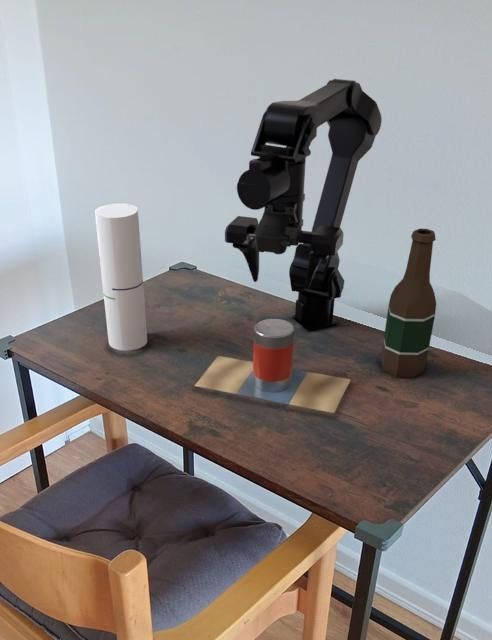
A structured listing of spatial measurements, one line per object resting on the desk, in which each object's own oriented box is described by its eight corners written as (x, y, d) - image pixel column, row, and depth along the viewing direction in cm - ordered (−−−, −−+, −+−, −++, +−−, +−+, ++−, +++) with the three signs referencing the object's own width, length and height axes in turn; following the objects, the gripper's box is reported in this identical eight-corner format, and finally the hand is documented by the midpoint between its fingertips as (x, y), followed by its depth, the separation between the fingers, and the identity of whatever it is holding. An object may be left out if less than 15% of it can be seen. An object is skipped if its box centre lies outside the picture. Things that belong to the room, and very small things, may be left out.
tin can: (280, 369, 130) (282, 315, 123) (298, 387, 125) (301, 331, 119) (246, 377, 128) (246, 322, 121) (263, 395, 123) (264, 340, 117)
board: (350, 384, 127) (350, 379, 126) (333, 418, 119) (334, 412, 118) (218, 360, 135) (218, 355, 134) (194, 390, 127) (194, 385, 126)
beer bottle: (373, 372, 130) (392, 235, 115) (386, 353, 135) (406, 219, 120) (418, 382, 127) (443, 243, 112) (430, 362, 132) (455, 226, 117)
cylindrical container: (142, 356, 136) (131, 218, 121) (104, 353, 138) (89, 216, 122) (151, 338, 142) (142, 204, 126) (115, 335, 143) (102, 202, 128)
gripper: (211, 200, 116) (213, 295, 125) (330, 213, 110) (322, 312, 120) (237, 180, 124) (236, 270, 133) (348, 191, 118) (339, 285, 128)
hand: (281, 284), depth 128 cm, fingers open, 9 cm apart
